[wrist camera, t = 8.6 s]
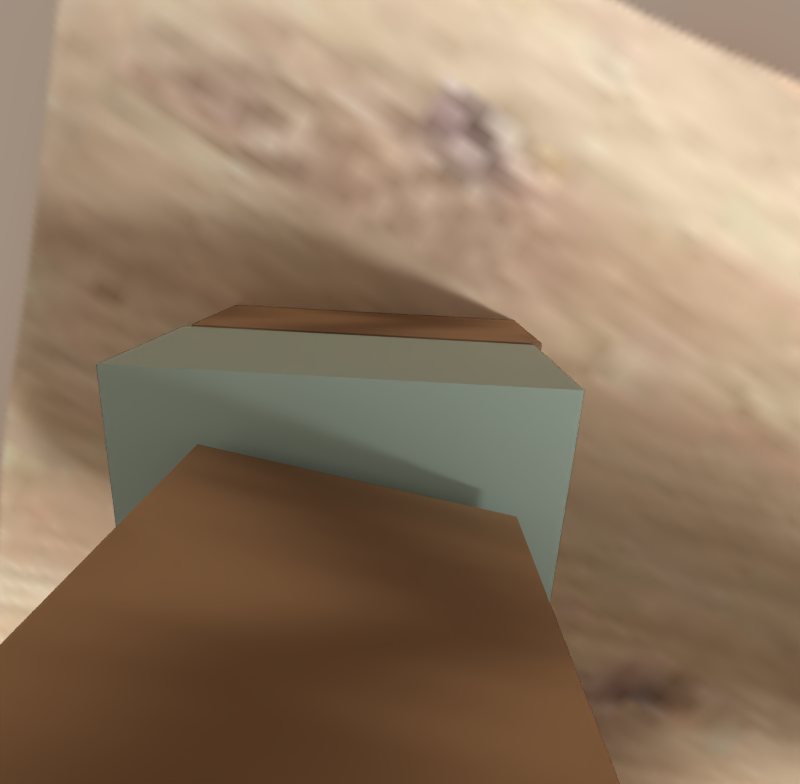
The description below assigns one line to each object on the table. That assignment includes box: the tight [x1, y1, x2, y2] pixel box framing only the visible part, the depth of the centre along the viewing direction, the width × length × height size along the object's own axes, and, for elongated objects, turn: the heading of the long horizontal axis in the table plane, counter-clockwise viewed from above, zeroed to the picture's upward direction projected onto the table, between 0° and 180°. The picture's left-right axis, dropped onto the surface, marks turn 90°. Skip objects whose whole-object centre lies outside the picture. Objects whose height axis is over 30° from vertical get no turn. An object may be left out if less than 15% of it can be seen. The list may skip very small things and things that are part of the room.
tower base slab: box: [192, 305, 542, 351], centre depth 17 cm, size 9×9×4 cm
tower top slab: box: [96, 326, 585, 602], centre depth 13 cm, size 9×9×4 cm
